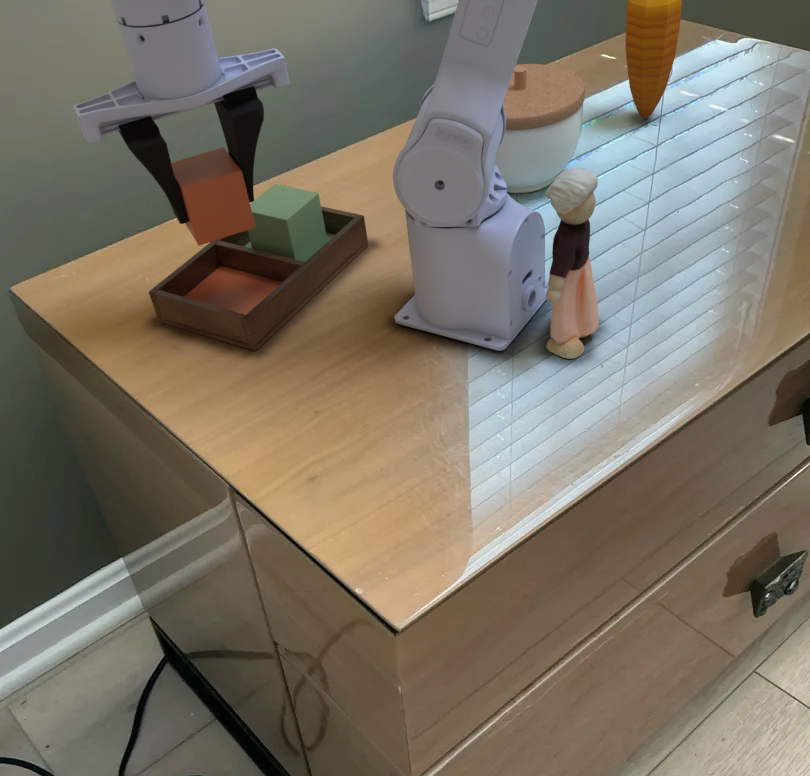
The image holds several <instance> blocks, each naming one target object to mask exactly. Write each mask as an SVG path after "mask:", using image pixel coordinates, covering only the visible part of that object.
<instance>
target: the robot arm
mask: <svg viewBox="0 0 810 776" xmlns="http://www.w3.org/2000/svg"><path fill="white" fill-rule="evenodd" d="M109 1H110V4H111V7H112V10H113V14H114V17H115V19H116V23H117V27H118V29H119V32H120V35H121V39H122V43H123V46H124V49H125V52H126V55H127V59H128V62H129V66H130V68H131V72H132V75H133V78H134V80H133V81H131V82H128V83H125V84H123V85H121V86H119V87H117V88H114V89H112V90H109V91H108V92H105V93H103V94H101V95H99V96H96V97H94V98H91V99H89V100H86V101H83V102H80V103H77V104H73V105H72V110H73V112H74V114H75V117H76V119H77V122H78V125H79V128H80V130H81V133H82V135H83V137H84V139H85V141H86V143H87V144H92V143H93V144H94V143H97V142H100V141H102V140H103V139H104V136H106V135H109V134H113V133H116V132H118V133H119V134H120V136H121V138H122V140H123V141H124V143H125V145H126V146H127V148H128V150H129V151H130V152H131V153H132V154H133V156H134V157H135V158H136V159H137V160H138V161H139V162H140V164H141V165H142V166H143V167H144V168H145V169H146V171H148V173H149V174H150V175H151V176H152V177H153V179H154V180H155V182H157V184H158V185H159V187H160V188H161V190H162V191H163V193H164V195H165V196H166V198H167V200H168V202H169V204H170V206H171V209H172V212H173V214H174V217H176V219H177V221H178V223H179V224H180V225H185V223H187V222H189V219H188V215H187V211H186V208H185V204H184V202H183V199H182V197H181V194H180V191H179V189H178V186H177V183H176V180H175V176H174V173H173V169H172V165H171V163H172V161H171V156H170V153H169V149H168V144H167V142H166V141H165V139H164V137H163V136H162V134H161V131H160V128H159V126H158V125H157V124H156V122H155V121H157V120H161V119H164V118H167V117H170V116H174V115H177V114H181V113H185V112H188V111H191V110H195V109H197V108H202V107H206V106H209V105H212V104H214V108H215V110H216V113H217V116H218V119H219V122H220V123H219V124H220V127H221V129H222V133H223V136H224V139H225V143H226V147H227V152H228V153H229V155H230V156H231V157H232V159H233V160H234V161H235V163H236V164H237V165H238V167H239V168H240V169H241V171H242V174H243V178H244V182H245V186H246V190H247V194H248V198H249V202H250V203H252V202H253V201H254V200H255V195H254V192H255V191H254V169H255V157H256V150H257V146H258V141H259V137H260V133H261V129H262V126H263V124H264V120H265V109H264V104H263V102H262V101H261V99H260V98H259V97H258V93H257V91H260V90H264V89H267V88H270V87H273V88H275V89H280V88H285V87H287V86H290V84H291V82H290V78H289V77H290V76H289V72H288V67H287V62H286V57H285V56H284V55H283V53H281V52H280V50H278V49H277V48H276V47H275V48H270V49H267V50H261V51H257V52H252V53H251V52H250V53H245V54H237V55H231V56H224V57H223V56H222V57H218V52H217V48H216V45H215V40H214V36H213V31H212V28H211V23H210V20H209V16H208V11H207V7H206V3H205V0H109ZM538 2H539V0H458V2H457V5H456V8H455V12H454V15H453V19H452V23H451V26H450V29H449V33H448V37H447V41H446V44H445V48H444V51H443V54H442V59H441V60H440V61H441V62H440V65H439V68H438V70H437V74H436V77H435V80H434V83H433V84H432V85H431V86H430V87H429V88H428V89H427V90H426V92H425V93H424V94H423V96H422V98H421V100H420V102H419V106H418V108H417V111H416V118H415V121H414V123H413V125H412V127H411V130H410V132H409V135H408V138H407V140H406V142H405V145H404V147H402V149H401V150H400V151H399V153H398V155H397V157H396V160H395V162H394V166H393V172H392V182H393V183H392V184H393V189H394V192H395V194H396V196H397V199H398V201H399V203H400V204H401V205H402V207H403V208H404V212H405V213H404V214H405V222H406V231H407V240H408V248H409V256H410V266H411V272H412V282H413V290H414V295H413V296H412V297H411V298H410V299H409V300H408V301H407V302H406V303H405V305H403V306H402V307H401V308H400V310H399V311H397V313H396V314H394V323H395V324H398V325H402V326H405V327H409V328H412V329H416V330H420V331H423V332H427V333H431V334H435V335H438V336H443V337H447V338H450V339H453V340H457V341H461V342H465V343H469V344H472V345H476V346H478V347H484V348H487V349H491V350H494V351H497V352H500V351H505V350H506V349H507V348H508V347H509V346H510V344H511V343H512V342H513V341H514V340H515V338H517V336H518V335H519V333H520V332H521V331H522V330H523V328H524V327H526V325H527V324H528V322H529V321H530V320H531V319H532V317H533V316H534V315H535V314H536V313H537V311H538V310H539V309H540V308H541V307H542V306H543V304H544V303H545V302H546V301H547V299H546V292H547V290H548V288H547V287H546V228H545V222H544V219H543V217H542V215H541V213H540V212H539V211H536V210H534V209H531V208H529V207H527V206H525V205H523V204H520V203H519V202H518V201H516V200H515V199H514V198H513V197H511V196H510V194H509V193H508V192H507V185H506V182H504V180H503V177H502V175H501V173H500V171H499V169H498V167H497V166H496V165H495V164H494V163H495V159H496V156H497V152H498V149H499V146H500V145H501V143H502V140H503V137H504V135H505V130H506V114H505V108H504V99H505V96H506V92H507V89H508V86H509V83H510V80H511V77H512V74H513V72H514V69H515V66H516V65H517V62H518V60H519V57H520V54H521V51H522V48H523V45H524V43H525V40H526V37H527V33H528V31H529V28H530V25H531V21H532V19H533V16H534V13H535V10H536V8H537V4H538Z"/></svg>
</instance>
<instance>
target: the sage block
mask: <svg viewBox="0 0 810 776" xmlns="http://www.w3.org/2000/svg"><path fill="white" fill-rule="evenodd" d="M250 206H251V211H252V215H253V219H254V223H255V228H252V229H249V230H248V234H249V237H250V241H251V245H252V249H255V250H260V251H264V252H268V253H272V254H276V255H280V256H284V257H288V258H292V259H296V260H300V261H304V262H306V261H307V260H308V259H309V258H310V257H311V256H312V255H313V254H315V253H316V252H317V251H318V250H319V249H320V248H321V247H322V246H323V245H325V244H326V243H327V242H328V241H327V236H326V230H325V225H324V220H323V214H322V209H321V206H322V205H321V198H320V194H319V192H316V191H311V190H306V189H300V188H297V187H292V186H287V185H282V184H279V183H278V184H277V183H274V184H273V185H271V187H269V188H268V189H266V190H265V191H264V192H263V193H262V194H260V195H259V196H257V198H254V201H253V202H250Z"/></svg>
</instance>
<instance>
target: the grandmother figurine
mask: <svg viewBox="0 0 810 776" xmlns="http://www.w3.org/2000/svg"><path fill="white" fill-rule="evenodd" d="M598 184H599V178H598V176H597V175H596V173H594V172H593V171H591V170H588V169H585V168H580V167H578V168H567V169H565V170H562V171H561V172H560V173H559V174H558V175H557V176H556V178H555V179H554V181H553V182H552V183H551V184H550V185H549V187H548V188H547V189H546V190H545V192H544V196H545V197H546V199H547V200H550V204H551V207H552V208H553V209H554V211H555V212H556V214H557V217H558V218H559V220H560V221H559V225H558V227H557V230H556V232H555V234H554V235H553V239H552V253H551V254H552V255H551V257H552V260H551V265H550V269H549V276H548V277H549V278H548V282H547V286H548V288H547V289H548V290H547V292H546V301H547V302H548V303H550V304H552V307H551V319H550V330H549V331H550V332H549V333H550V338H549V340H548V341H547V343H546V346H545V347H546V350H547V351H549V352H550V353H552V354H555V355H557V356H558V357H561V358H563V359H569V360H570V359H571V360H573V359H576V358H578V357H580V356H581V355H583V353H584V352H585V346H584V343H583V341H581V340H580V339H583V338H587V337H588V336H589V335H592V334H594V333H595V332H596V331H597V330H598V329H599V325H600V324H599V323H600V322H599V307H598V298H597V291H596V287H595V282H594V275H593V270H592V263H591V259H590V242H591V222H590V219H591V217H592V216H593V214H594V212H595V209H596V196H595V194H594V192H595V191H596V190H597V188H598V186H599V185H598Z"/></svg>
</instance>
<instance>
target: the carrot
mask: <svg viewBox="0 0 810 776" xmlns="http://www.w3.org/2000/svg"><path fill="white" fill-rule="evenodd" d="M625 9H626V10H625V57H626V58H625V59H626V71H627V77H628V84H629V90H630V93H631V97H632V100H633V103H634V106H635V108H636V110H637V113H638V115H639V116H640V117H641V118H642V120H648V118H649V117H650V116H652V115H653V113H654V111H655V110H656V109H657V107H658V105H659V104H660V101H661V99H662V97H663V95H664V93H665V91H666V88H667V87H668V83H669V79H670V76H671V73H672V69H673V66H674V62H675V58H676V53H677V48H678V41H679V34H680V27H681V19H682V10H683V1H682V0H626V7H625Z"/></svg>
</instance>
